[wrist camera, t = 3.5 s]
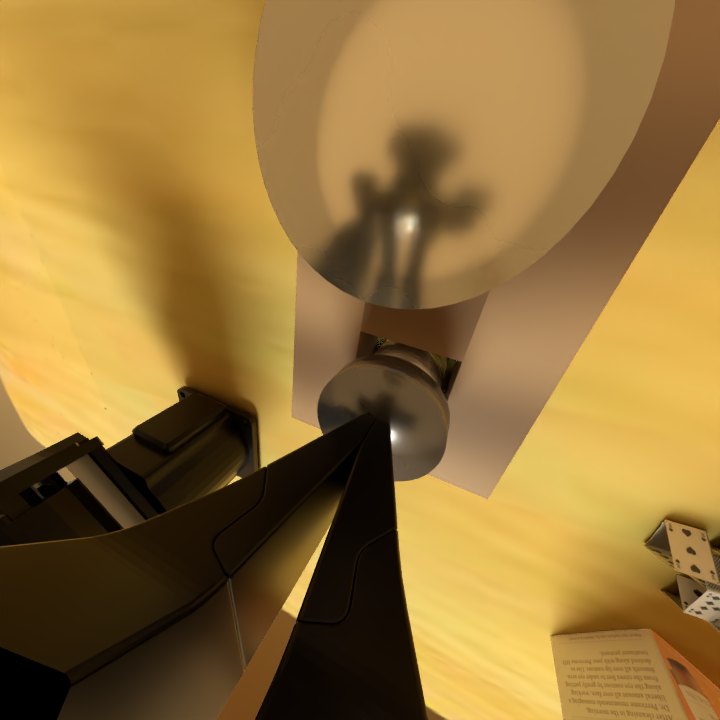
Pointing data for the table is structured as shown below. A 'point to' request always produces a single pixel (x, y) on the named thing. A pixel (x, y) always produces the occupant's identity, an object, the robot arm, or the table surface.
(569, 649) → the small box
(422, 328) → the socket board
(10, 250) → the table surface
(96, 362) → the table surface
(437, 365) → the grey plug
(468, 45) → the cream plug
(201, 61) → the table surface
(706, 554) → the house of cards
